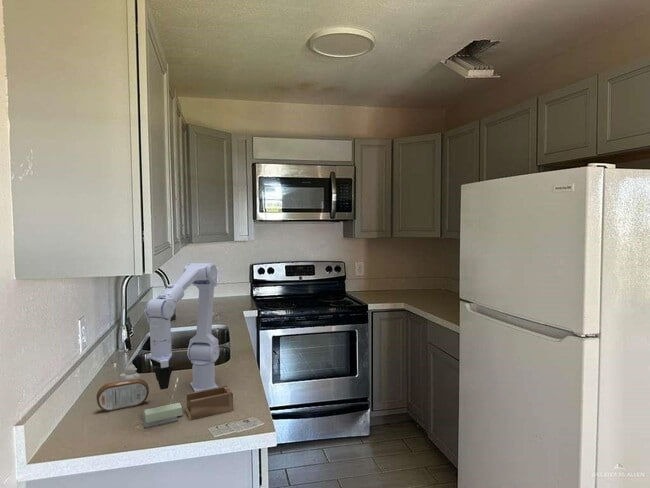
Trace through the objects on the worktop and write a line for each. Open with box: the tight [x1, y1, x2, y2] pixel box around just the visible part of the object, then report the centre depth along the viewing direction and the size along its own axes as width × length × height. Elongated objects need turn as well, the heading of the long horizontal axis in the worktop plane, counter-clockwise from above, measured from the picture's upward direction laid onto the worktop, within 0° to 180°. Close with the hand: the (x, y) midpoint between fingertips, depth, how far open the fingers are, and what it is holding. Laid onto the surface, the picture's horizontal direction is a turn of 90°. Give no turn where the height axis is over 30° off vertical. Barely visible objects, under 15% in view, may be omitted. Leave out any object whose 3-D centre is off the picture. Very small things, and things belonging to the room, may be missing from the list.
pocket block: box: [184, 385, 234, 421], centre depth 130 cm, size 7×13×5 cm, turn 118°
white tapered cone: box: [119, 362, 141, 381], centre depth 153 cm, size 5×7×8 cm
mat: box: [141, 413, 179, 429], centre depth 125 cm, size 9×9×1 cm
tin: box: [95, 378, 150, 412], centre depth 133 cm, size 15×3×8 cm, turn 118°
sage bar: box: [144, 402, 183, 423], centre depth 126 cm, size 4×10×2 cm, turn 118°
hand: (162, 384), depth 125 cm, fingers open, 7 cm apart
